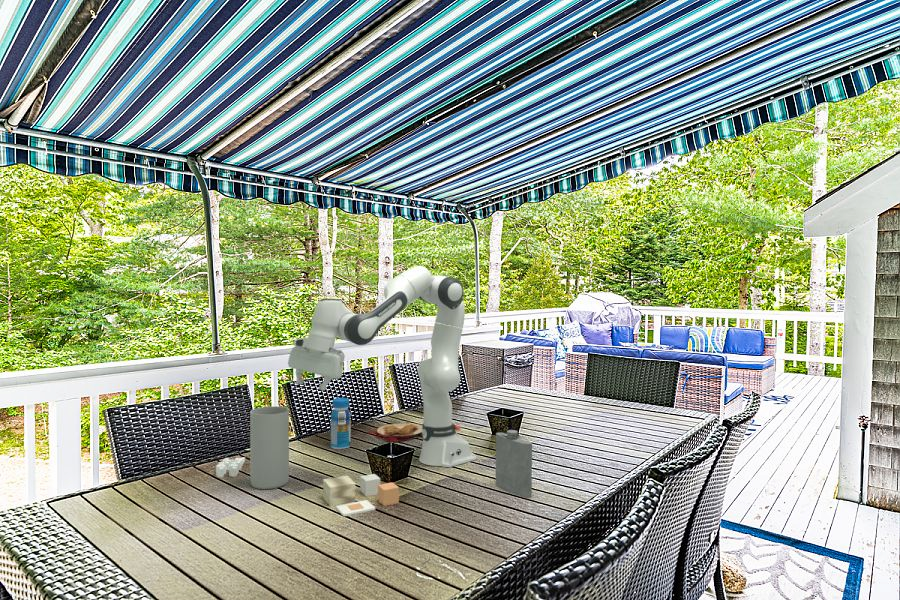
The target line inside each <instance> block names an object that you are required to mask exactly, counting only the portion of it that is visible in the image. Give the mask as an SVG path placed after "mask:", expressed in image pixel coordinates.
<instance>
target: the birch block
mask: <svg viewBox="0 0 900 600" xmlns="http://www.w3.org/2000/svg"><path fill="white" fill-rule="evenodd" d="M322 482H323V483H322V490H323V491H322V494H323V495H322V498H323V499H324V501H325V502H326V503H327V504H328V506H329V507H336V506H339V505H344V504H349V503H354V502H356V482H355V481H353V479H352V478H350V476H348V475H342V476H341V475H340V476H336V477H329V478H323V479H322Z"/></svg>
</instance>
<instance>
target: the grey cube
mask: <svg viewBox="0 0 900 600" xmlns="http://www.w3.org/2000/svg"><path fill="white" fill-rule="evenodd" d="M359 484H360V489H359V490H360V493H362V494H363V496H365V497H368V496H369V497H370V496H374V495H378V485H381V477H379V476H378V475H377V474H376V473H372V474H371V473H370V474H368V475H366V474H365V475H361V476H360V481H359Z"/></svg>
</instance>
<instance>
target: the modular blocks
mask: <svg viewBox="0 0 900 600" xmlns="http://www.w3.org/2000/svg"><path fill="white" fill-rule="evenodd" d="M245 462H246V457H235V459H230V458H229V457H225V458H223V459H222V461H219V462H218V464H216V466H215V477H218V478H223V477H224V476H225V475H226V474H227V471H228V476H229V477H237V476H238V474H239V471H240V470H242V468H243V466H244V465H243V464H244V463H245Z"/></svg>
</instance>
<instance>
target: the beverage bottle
mask: <svg viewBox="0 0 900 600" xmlns="http://www.w3.org/2000/svg"><path fill="white" fill-rule="evenodd" d="M349 407H350V400H349V398H347V397H336V398H333V399H332V408H333V410H332V412H331V414H330V418H331V419H330V448H331V449H334V450H344V449H348V448H350V447H351V445H352V443H351V430H352V429H351V426H352V419H351V416H352V414H351V411H350V410H349Z"/></svg>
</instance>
